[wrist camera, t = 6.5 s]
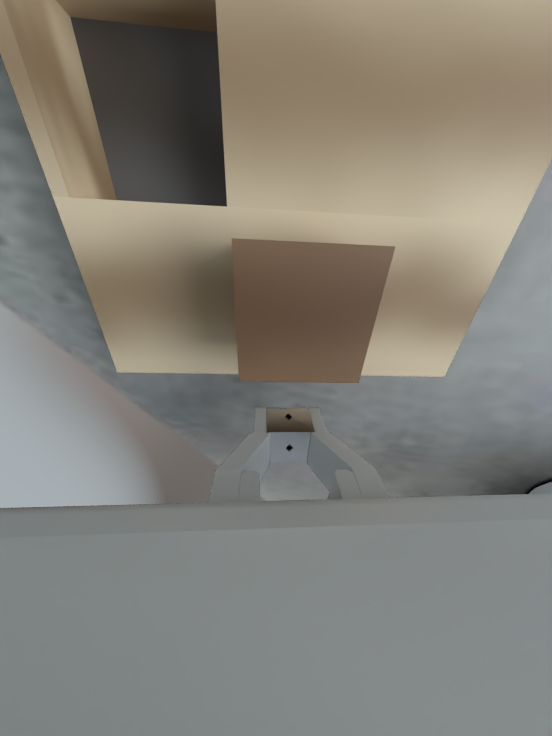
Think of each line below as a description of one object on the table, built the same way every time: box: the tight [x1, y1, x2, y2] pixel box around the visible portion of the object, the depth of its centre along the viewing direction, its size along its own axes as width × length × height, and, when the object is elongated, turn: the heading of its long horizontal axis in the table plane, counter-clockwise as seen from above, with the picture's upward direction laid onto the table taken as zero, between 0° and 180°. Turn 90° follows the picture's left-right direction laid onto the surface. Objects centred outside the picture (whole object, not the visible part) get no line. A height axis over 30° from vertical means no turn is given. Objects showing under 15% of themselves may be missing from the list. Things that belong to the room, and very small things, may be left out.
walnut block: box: [232, 238, 396, 383], centre depth 7 cm, size 4×4×3 cm
